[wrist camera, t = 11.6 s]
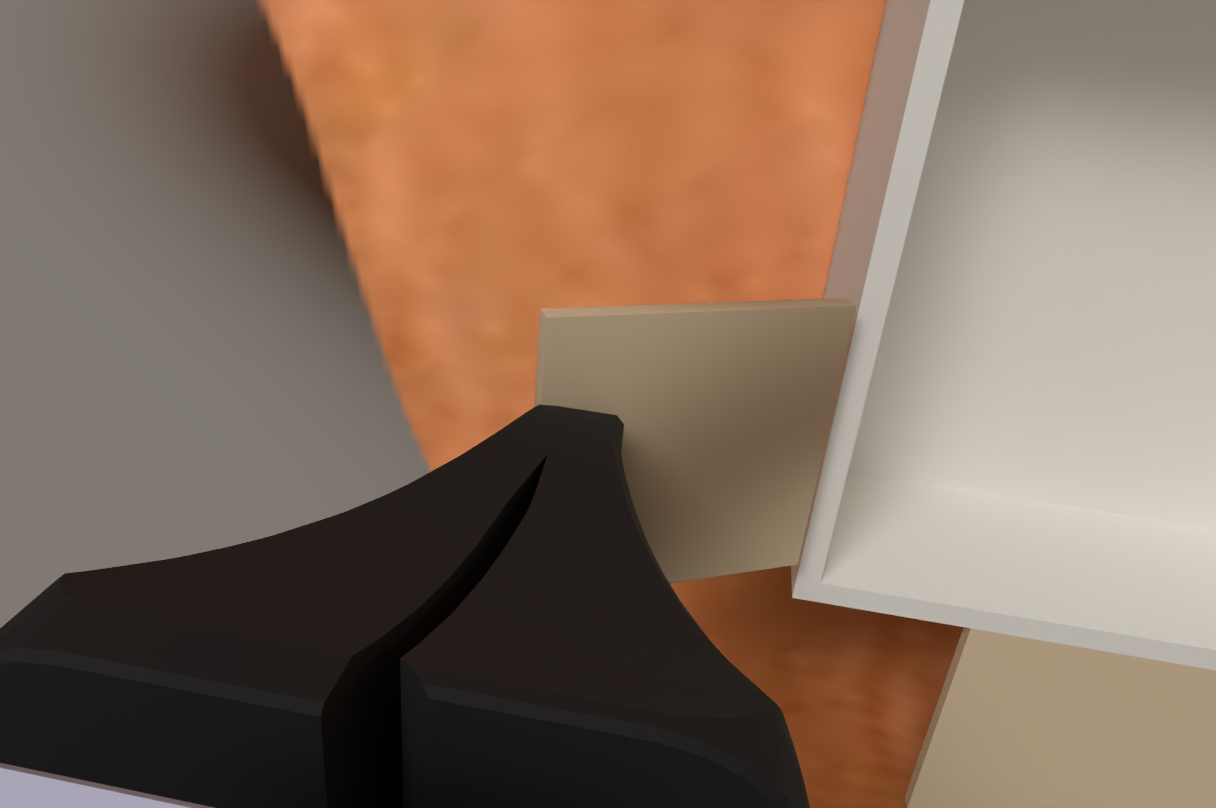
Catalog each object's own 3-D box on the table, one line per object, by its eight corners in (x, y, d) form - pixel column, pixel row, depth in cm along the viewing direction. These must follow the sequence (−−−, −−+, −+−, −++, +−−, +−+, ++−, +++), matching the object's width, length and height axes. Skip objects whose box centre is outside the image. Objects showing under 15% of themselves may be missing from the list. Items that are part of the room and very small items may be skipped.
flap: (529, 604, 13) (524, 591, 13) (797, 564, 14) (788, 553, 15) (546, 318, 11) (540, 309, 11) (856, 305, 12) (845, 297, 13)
